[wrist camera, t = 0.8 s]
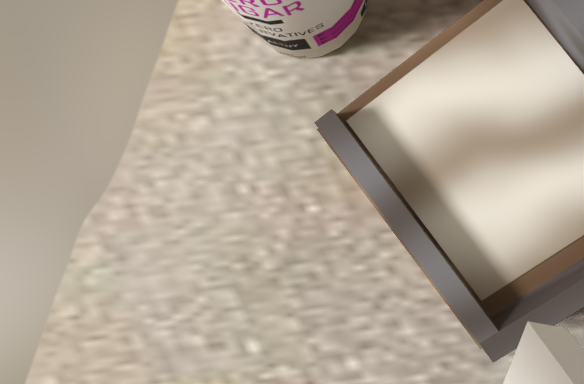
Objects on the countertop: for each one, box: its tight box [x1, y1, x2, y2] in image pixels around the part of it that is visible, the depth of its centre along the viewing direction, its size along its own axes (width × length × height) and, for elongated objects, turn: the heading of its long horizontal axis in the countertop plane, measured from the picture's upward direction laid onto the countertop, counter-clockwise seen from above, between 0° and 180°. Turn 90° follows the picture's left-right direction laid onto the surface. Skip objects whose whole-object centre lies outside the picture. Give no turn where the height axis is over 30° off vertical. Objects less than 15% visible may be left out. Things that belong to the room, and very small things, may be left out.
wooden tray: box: [315, 0, 584, 362], centre depth 29 cm, size 16×15×6 cm
